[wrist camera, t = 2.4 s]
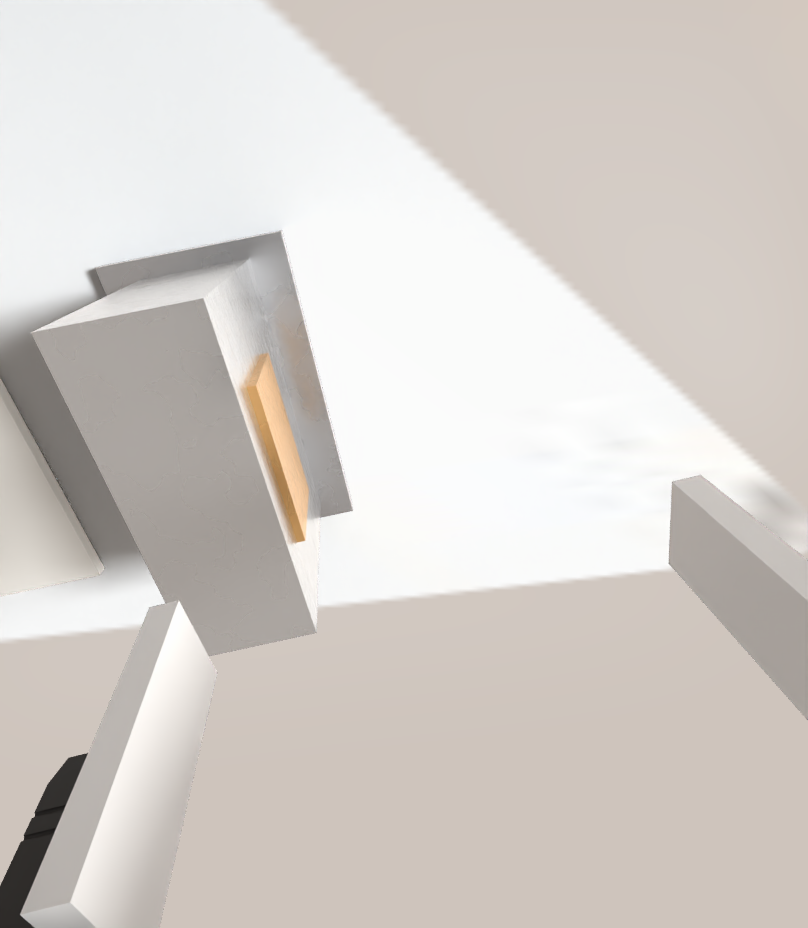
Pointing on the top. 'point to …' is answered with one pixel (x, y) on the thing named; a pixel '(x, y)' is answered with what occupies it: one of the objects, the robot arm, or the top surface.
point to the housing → (209, 431)
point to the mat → (35, 515)
